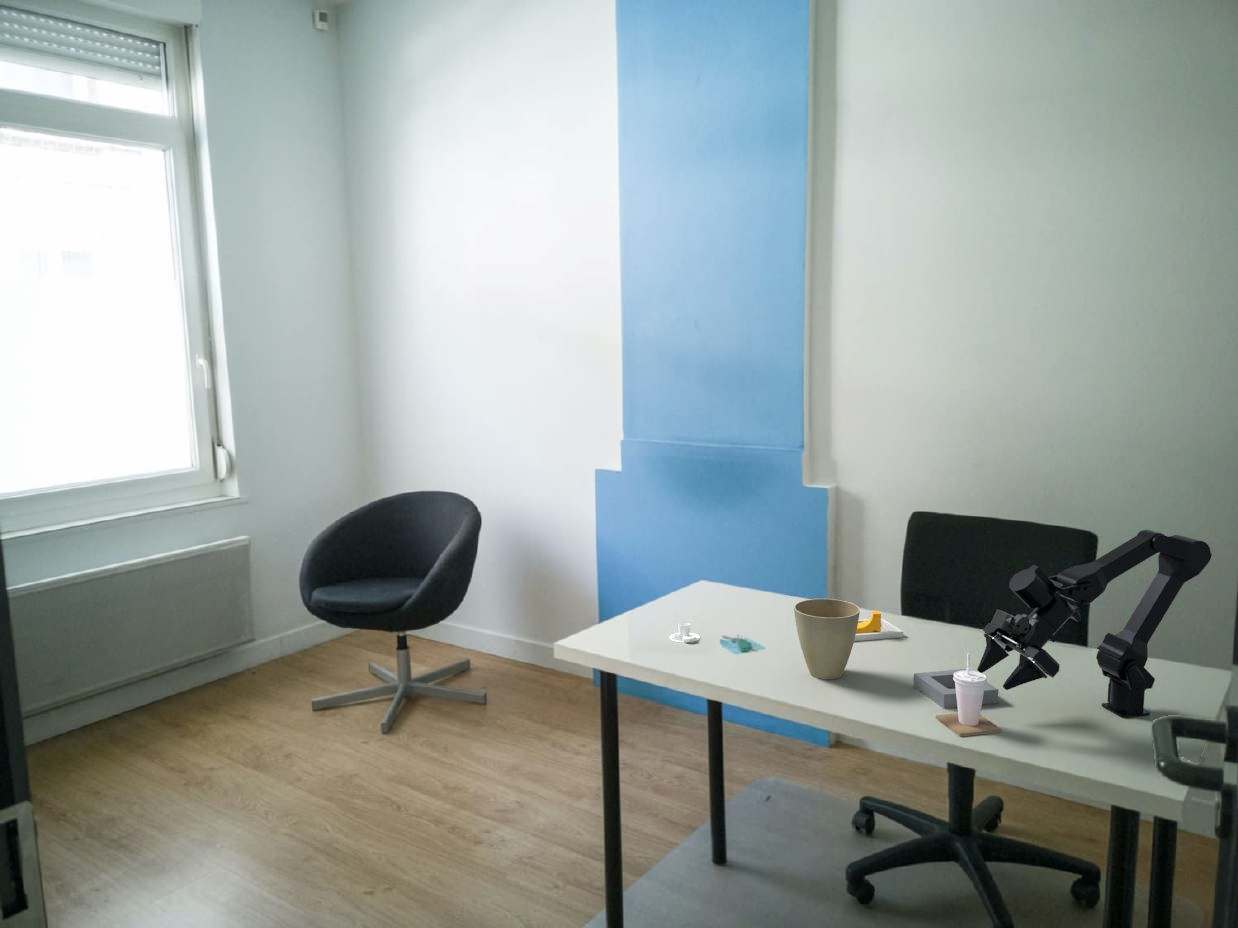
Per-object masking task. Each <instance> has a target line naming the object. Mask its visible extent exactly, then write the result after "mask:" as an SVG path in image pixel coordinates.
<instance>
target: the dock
mask: <svg viewBox="0 0 1238 928" xmlns="http://www.w3.org/2000/svg"><path fill="white" fill-rule="evenodd" d="M962 670H967V668H958V669H957V668H956V669H948V670H947V669H946V670H937V671H936V670H935V671H927V672H915V673H913V685H912V686H913V687H914V688H915V689H916V690H918V691H919V692H920V693H922V694H923V695H925V696H926V697H928V698H929V699H930V700H932V701H933V702H934V703H936V705H938V706H939V707H940V708H942V709H950V708H958V707H957V697H956V688H955V681H954V680H953V676H954V675H953V674H954V673H955V672H957V671H962ZM998 703H999V688H997V687H995V686H994V685H992V684H991V683H989V682H988V681H987V684H986V685H985V689H984V695H983V701H982V705H991V704H998Z"/></svg>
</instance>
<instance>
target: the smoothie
mask: <svg viewBox="0 0 1238 928" xmlns="http://www.w3.org/2000/svg"><path fill="white" fill-rule="evenodd" d="M970 666H971V653H967V654H966V669H967V670H962V671H957V672H955V673H954V674H953V675H954V676H953V680H954V681H955V687H954V689H956V697H957V707H956V708H957V713H958V717H959V722H960V723H961V724H964V725H968V726H975V725H978V724H979V718H980V714H981V711H982V705H983V704H982V701H983V695H984V689H985V685H986V684H987V682H988V677H987V675H986V674H984V673H980V672H979V671H977V670H976V671H975V670H971V668H970Z"/></svg>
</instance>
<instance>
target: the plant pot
mask: <svg viewBox="0 0 1238 928" xmlns="http://www.w3.org/2000/svg"><path fill="white" fill-rule="evenodd" d="M793 612H794V619H795V620H794V621H795V626H796V631H797V637H798V640H799V644H800V645H799V646H800V648H801V651H802V654H803V658H804V661H805V663H806V666H807V669H808V672H809V674H810V675H811V676H813V677H814V678H817V679H821V680H836V679H839V678H841V677H842V676H843V674H844V672H845V669H846V667H847V665H848V662H849V658H850V655H851V653H852V650H853V646H854V643H855V641H854V639H855V635H856V631H857V626H858V620H860V613H861V608H860V607H859V606H858V605H856V604H855V603H853V602H849V601H845V600H840V599H835V598H811V599H805V600H801V601H797V602H796V603H794V605H793Z"/></svg>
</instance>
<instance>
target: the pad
mask: <svg viewBox="0 0 1238 928" xmlns="http://www.w3.org/2000/svg"><path fill="white" fill-rule="evenodd" d="M935 719H936V720H938V721H939V723H941V724H943V725H944V726H946V727H947V728H948V729H949V730H951V731H952V732H953V733H955V734H956V735H957V736H958V737H968V736H969V737H970V736H979V735H987V734H997V733H1003V729H1002V728H1001V727H999V726H998V725H997V724H995V723H994V722H992V721H991V720H989V719H988V718H986V717H985V716H983V714H981V713H980V718H979V724H978V725H975V726H968V725H964V724H961V723H960V722H959V717H958V712H957V713H947V714H938V715H935Z"/></svg>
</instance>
